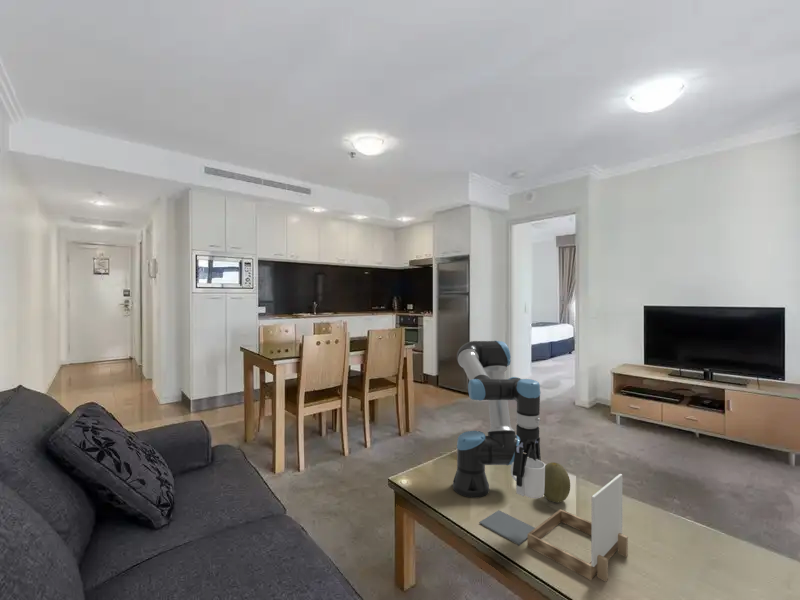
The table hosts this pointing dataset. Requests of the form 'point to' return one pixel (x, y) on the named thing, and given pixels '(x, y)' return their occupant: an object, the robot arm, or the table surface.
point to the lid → (607, 525)
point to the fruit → (556, 482)
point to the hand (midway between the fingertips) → (526, 489)
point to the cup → (533, 478)
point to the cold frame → (560, 555)
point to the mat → (507, 527)
